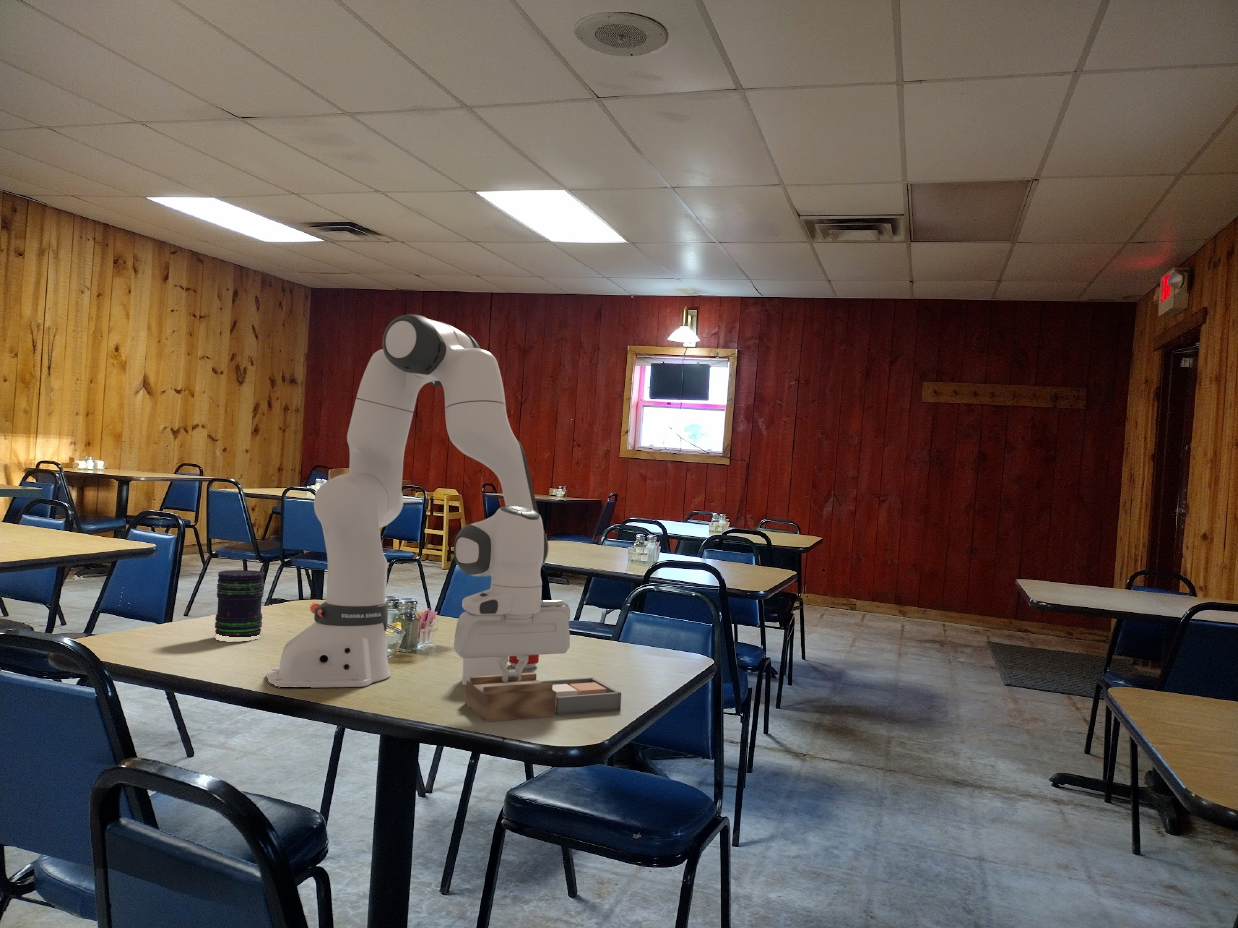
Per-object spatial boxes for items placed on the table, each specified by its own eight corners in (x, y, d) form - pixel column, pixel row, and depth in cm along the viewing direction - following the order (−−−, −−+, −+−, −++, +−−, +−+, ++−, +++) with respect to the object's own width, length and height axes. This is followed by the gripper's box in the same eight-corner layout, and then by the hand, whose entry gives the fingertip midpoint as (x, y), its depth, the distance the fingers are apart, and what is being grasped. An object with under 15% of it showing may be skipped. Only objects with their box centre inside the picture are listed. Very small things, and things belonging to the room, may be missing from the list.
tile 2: (606, 688, 158) (605, 702, 158) (594, 682, 162) (594, 695, 162) (580, 690, 155) (580, 704, 155) (569, 683, 160) (568, 697, 160)
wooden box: (486, 721, 144) (488, 690, 144) (465, 702, 155) (466, 674, 155) (555, 715, 150) (556, 685, 150) (529, 697, 160) (531, 670, 160)
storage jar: (206, 641, 196) (209, 574, 196) (225, 633, 206) (228, 569, 206) (251, 643, 196) (254, 576, 197) (268, 635, 206) (271, 571, 206)
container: (506, 677, 175) (510, 612, 175) (502, 687, 167) (505, 618, 167) (467, 676, 175) (470, 610, 175) (461, 685, 167) (464, 616, 167)
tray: (557, 715, 150) (558, 697, 150) (531, 697, 161) (532, 681, 161) (620, 709, 155) (621, 692, 155) (591, 693, 166) (592, 677, 166)
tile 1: (550, 706, 153) (551, 692, 153) (540, 699, 158) (540, 685, 158) (576, 704, 155) (577, 690, 155) (565, 697, 160) (566, 683, 160)
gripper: (563, 597, 160) (559, 673, 160) (453, 599, 151) (449, 680, 151) (577, 602, 155) (573, 681, 154) (464, 604, 145) (459, 689, 145)
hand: (511, 681), depth 153 cm, fingers closed
